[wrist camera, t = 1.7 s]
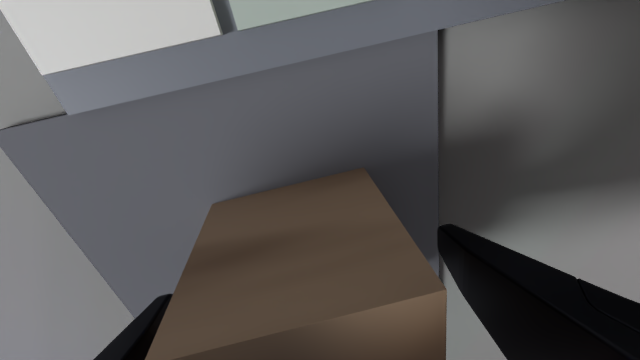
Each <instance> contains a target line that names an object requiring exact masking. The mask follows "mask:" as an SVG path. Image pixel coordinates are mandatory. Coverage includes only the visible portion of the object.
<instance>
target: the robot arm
mask: <svg viewBox="0 0 640 360" xmlns="http://www.w3.org/2000/svg"><path fill="white" fill-rule="evenodd" d="M437 247H438V250H439V253H440V255H441V257H442V258H443V260H444V262H445V264H446V266H447V268H448V269H449V271H450V273H451V275H452V277H453V279H454V280H455V282H456V284H457V286H458V288H459V289H460V291H461V293H462V295H463V296H464V298H465V299H466V301H467V302H468V304H469V305H470V306H471V308H472V309H473V311H474V312H475V314H476V315H477V317H478V318H479V319H480V321H481V322H482V324H483V325H484V327H485V328H486V330H487V331H488V332H489V334H490V335H491V337H492V338H493V340H494V341H495V343H496V344H497V345H498V347H499V348H500V350H501V351H502V353H503V354H504V356H505V357H506V359H507V360H640V303H637V302H635V301H632V300H630V299H627V298H624V297H622V296H620V295H617V294H615V293H612V292H610V291H607V290H605V289H603V288H600V287H598V286H595V285H593V284H591V283H588V282H586V281H584V280H581V279H576V277H574V276H572V275H569V274H567V273H565V272H562V271H560V270H558V269H555V268H553V267H551V266H548V265H546V264H544V263H541V262H539V261H537V260H534V259H532V258H530V257H527V256H525V255H523V254H520V253H518V252H516V251H513V250H511V249H509V248H506V247H504V246H502V245H499V244H497V243H495V242H492V241H490V240H488V239H485V238H483V237H481V236H478V235H476V234H474V233H471V232H469V231H467V230H464V229H462V228H460V227H457V226H455V225H453V224H446V225H442V226H439V227H438V229H437ZM172 296H173V294H165V295H161V296H159V297H157V298H156V299H155V300H154V301H153V302H152V303H151V304H150V305H149V306H148V307H147V308H146V309H145V310H144V311H143V312H142V313H141V314H140V315H138V316H137V317H136V318H135V319H134V320H133V321H132V322H131V323H130V324H129V325H128V326H127V327H126V328H125V329H124V330H123V331H122V332H121V333H120V334H119V335H118V336H117V337H116V338H115V339H114V340H113V341H112V342H111V343H110V344H109V345H108V346H107V347H106V348H105V349H104V350H103V351H102V352H101V353H100V354H99V355H98V356H97V357H96V358H95V359H94V360H145V358H146V356H147V354H148V351H149V349H150V347H151V344H152V342H153V340H154V337H155V335H156V333H157V330H158V328H159V326H160V323H161V321H162V319H163V317H164V314H165V312H166V310H167V307H168V305H169V303H170V300H171V298H172Z"/></svg>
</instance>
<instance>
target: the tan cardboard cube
mask: <svg viewBox="0 0 640 360" xmlns="http://www.w3.org/2000/svg"><path fill="white" fill-rule="evenodd" d="M446 302H447V289H446V288H445V286H444V285H443V283H442V282H441V280H440V279H439V278H438V276H437V275H436V273H435V272H434V270H433V269H432V267H431V266H430V264H429V263H428V261H427V260H426V258H425V257H424V255H423V254H422V252H421V251H420V250H419V248H418V247H417V245H416V244H415V242H414V241H413V239H412V238H411V236H410V235H409V233H408V232H407V230H406V229H405V227H404V226H403V224H402V223H401V221H400V220H399V219H398V217H397V216H396V214H395V213H394V211H393V210H392V208H391V207H390V205H389V204H388V202H387V201H386V199H385V198H384V196H383V195H382V193H381V192H380V191H379V189H378V188H377V186H376V185H375V183H374V182H373V180H372V179H371V177H370V176H369V174H368V173H367V171H366V170H365V168H364V167H363V168H359V169H355V170H351V171H347V172H343V173H338V174H334V175H330V176H326V177H322V178H318V179H314V180H309V181H305V182H301V183H297V184H293V185H289V186H285V187H281V188H276V189H272V190H268V191H264V192H260V193H256V194H252V195H248V196H243V197H239V198H235V199H231V200H227V201H223V202H219V203H214V204H212V205H211V207H210V210H209V212H208V214H207V217H206V219H205V221H204V224H203V226H202V228H201V231H200V233H199V235H198V238H197V240H196V242H195V245H194V247H193V249H192V252H191V254H190V256H189V259H188V261H187V263H186V265H185V268H184V270H183V272H182V275H181V277H180V279H179V282H178V284H177V286H176V289H175V291H174V293H173V296H172V298H171V300H170V303H169V305H168V307H167V310H166V312H165V314H164V317H163V319H162V321H161V323H160V326H159V328H158V330H157V333H156V335H155V337H154V340H153V342H152V344H151V347H150V349H149V351H148V354H147V356H146V358H145V360H446Z"/></svg>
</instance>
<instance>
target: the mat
mask: <svg viewBox="0 0 640 360" xmlns="http://www.w3.org/2000/svg"><path fill="white" fill-rule="evenodd" d="M0 147H1V148H2V150H3V151H4V152H5V154H6V155H7V156H8V157H9V159H10V160H11V161H12V162H13V164H14V165H15V166H16V168H17V169H18V170H19V171H20V173H21V174H22V175H23V176H24V178H25V179H26V180H27V182H28V183H29V184H30V185H31V187H32V188H33V189H34V190H35V192H36V193H37V194H38V196H39V197H40V198H41V199H42V201H43V202H44V203H45V204H46V206H47V207H48V208H49V210H50V211H51V212H52V213H53V215H54V216H55V217H56V219H57V220H58V221H59V222H60V224H61V225H62V226H63V227H64V229H65V230H66V231H67V233H68V234H69V235H70V236H71V238H72V239H73V240H74V241H75V243H76V244H77V245H78V247H79V248H80V249H81V250H82V252H83V253H84V254H85V255H86V257H87V258H88V259H89V261H90V262H91V263H92V264H93V266H94V267H95V268H96V269H97V271H98V272H99V273H100V275H101V276H102V277H103V278H104V280H105V281H106V282H107V284H108V285H109V286H110V287H111V289H112V290H113V291H114V292H115V294H116V295H117V296H118V298H119V299H120V300H121V301H122V303H123V304H124V305H125V306H126V308H127V309H128V310H129V312H130V313H131V314H132V315H133V317H134V318H136V317H137V316H138V315H140V314H141V313H142V312H143V311H144V310H145V309H146V308H147V307H148V306H149V305H150V304H151V303H152V302H153V301H154V300H155V299H156V298H157V297H159V296H161V295H165V294H173V293H174V291H175V289H176V286H177V284H178V282H179V279H180V277H181V275H182V272H183V270H184V268H185V265H186V263H187V261H188V259H189V256H190V254H191V252H192V249H193V247H194V245H195V242H196V240H197V238H198V235H199V233H200V231H201V228H202V226H203V224H204V221H205V219H206V217H207V214H208V212H209V210H210V207H211V205H212V204H214V203H219V202H223V201H227V200H231V199H235V198H239V197H243V196H248V195H252V194H256V193H260V192H264V191H268V190H272V189H276V188H281V187H285V186H289V185H293V184H297V183H301V182H305V181H309V180H314V179H318V178H322V177H326V176H330V175H334V174H338V173H343V172H347V171H351V170H355V169H359V168H363V167H364V168H365V170H366V171H367V173H368V174H369V176H370V177H371V179H372V180H373V182H374V183H375V185H376V186H377V188H378V189H379V191H380V192H381V193H382V195H383V196H384V198H385V199H386V201H387V202H388V204H389V205H390V207H391V208H392V210H393V211H394V213H395V214H396V216H397V217H398V219H399V220H400V221H401V223H402V224H403V226H404V227H405V229H406V230H407V232H408V233H409V235H410V236H411V238H412V239H413V241H414V242H415V244H416V245H417V247H418V248H419V250H420V251H421V252H422V254H423V255H424V257H425V258H426V260H427V261H428V263H429V264H430V266H431V267H432V269H433V270H434V272H435V273H436V275H437V276H438V278H439V250H438V247H437V229H438V227H439V191H438V30H435V31H431V32H426V33H422V34H418V35H413V36H409V37H405V38H401V39H396V40H392V41H388V42H383V43H379V44H375V45H370V46H366V47H362V48H357V49H353V50H349V51H344V52H340V53H336V54H331V55H327V56H323V57H318V58H314V59H310V60H306V61H301V62H297V63H293V64H288V65H284V66H280V67H275V68H271V69H267V70H262V71H258V72H254V73H249V74H245V75H241V76H236V77H232V78H228V79H223V80H219V81H215V82H210V83H206V84H202V85H198V86H193V87H189V88H185V89H180V90H176V91H172V92H167V93H163V94H159V95H154V96H150V97H146V98H141V99H137V100H133V101H128V102H124V103H120V104H115V105H111V106H107V107H102V108H98V109H94V110H90V111H85V112H81V113H77V114H72V115H67V114H65V115H60V116H56V117H52V118H47V119H43V120H39V121H34V122H30V123H26V124H21V125H17V126H13V127H8V128H4V129H1V130H0Z"/></svg>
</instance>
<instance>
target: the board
mask: <svg viewBox="0 0 640 360" xmlns="http://www.w3.org/2000/svg"><path fill="white" fill-rule="evenodd" d="M560 1H565V0H0V10H1V11H2V13H3V14H4V16H5V18H6V19H7V21H8V22H9V24H10V25H11V27H12V29H13V30H14V32H15V33H16V35H17V37H18V38H19V40H20V41H21V43H22V45H23V46H24V48H25V49H26V51H27V52H28V54H29V56H30V57H31V59H32V60H33V62H34V64H35V65H36V67H37V68H38V70H39V71H40V73H41V75H43V76H44V78H45V80H46V81H47V83H48V84H49V86H50V87H51V89H52V91H53V92H54V94H55V95H56V97H57V99H58V100H59V102H60V103H61V105H62V107H63V108H64V110H65V111H66V113H67V115H72V114H77V113H81V112H85V111H90V110H94V109H98V108H102V107H107V106H111V105H115V104H120V103H124V102H128V101H133V100H137V99H141V98H146V97H150V96H154V95H159V94H163V93H167V92H172V91H176V90H180V89H185V88H189V87H193V86H198V85H202V84H206V83H210V82H215V81H219V80H223V79H228V78H232V77H236V76H241V75H245V74H249V73H254V72H258V71H262V70H267V69H271V68H275V67H280V66H284V65H288V64H293V63H297V62H301V61H306V60H310V59H314V58H318V57H323V56H327V55H331V54H336V53H340V52H344V51H349V50H353V49H357V48H362V47H366V46H370V45H375V44H379V43H383V42H388V41H392V40H396V39H401V38H405V37H409V36H413V35H418V34H422V33H426V32H431V31H435V30H439V29H444V28H448V27H452V26H457V25H461V24H465V23H470V22H474V21H478V20H483V19H487V18H491V17H496V16H500V15H504V14H509V13H513V12H517V11H521V10H526V9H530V8H534V7H539V6H543V5H547V4H552V3H556V2H560Z"/></svg>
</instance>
